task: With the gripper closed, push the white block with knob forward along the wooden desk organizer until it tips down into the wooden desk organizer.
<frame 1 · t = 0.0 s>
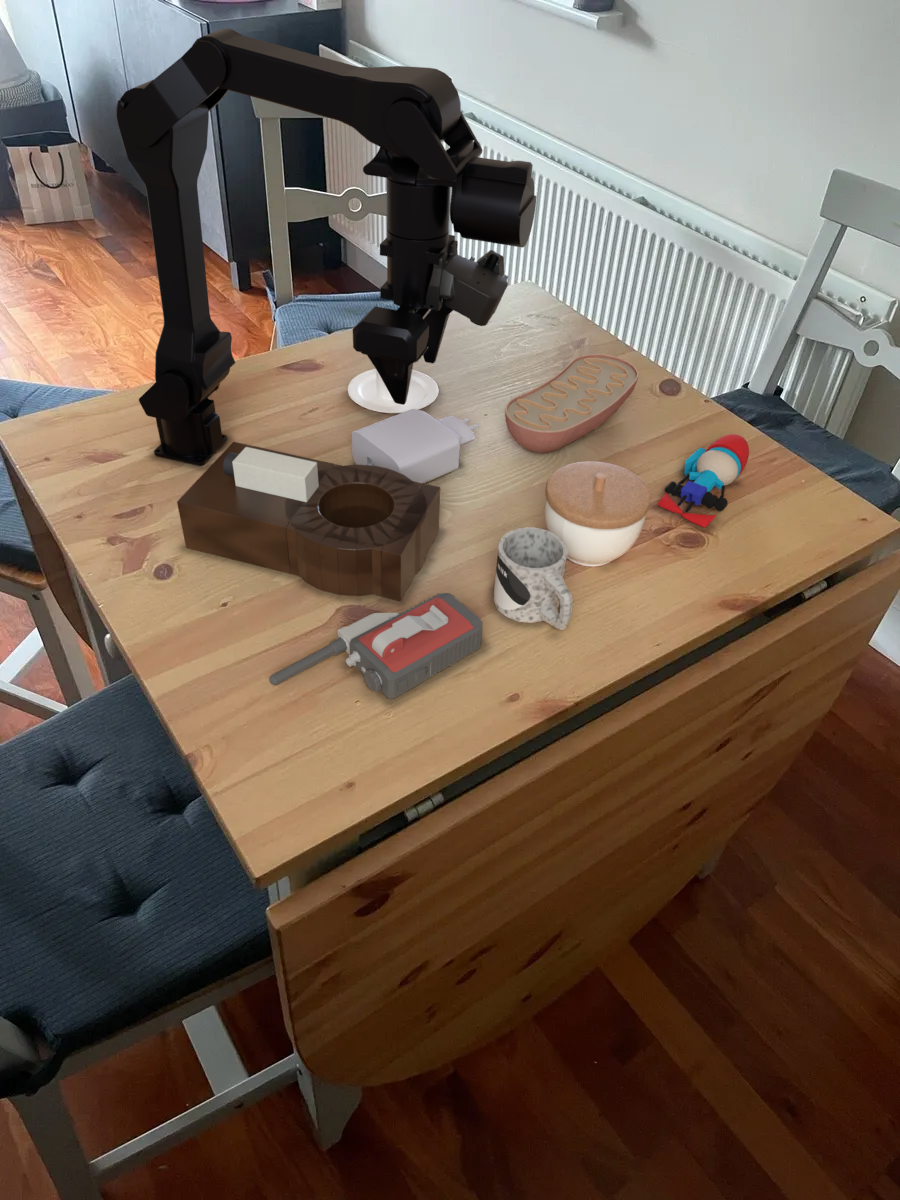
hand: (415, 382, 94), 15 cm above the table, tool pointing down, fingers open, 9 cm apart
wooden desk organizer: (314, 539, 98), on the table
trinket box: (587, 550, 99), on the table
toy figure: (706, 490, 108), on the table
mug: (535, 611, 91), on the table
candle holder: (393, 395, 121), on the table
walkie-talkie: (383, 665, 85), on the table
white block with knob: (228, 463, 95), point 7 cm above the table, touching wooden desk organizer
anatomical model: (571, 427, 117), on the table
charger: (425, 460, 110), on the table
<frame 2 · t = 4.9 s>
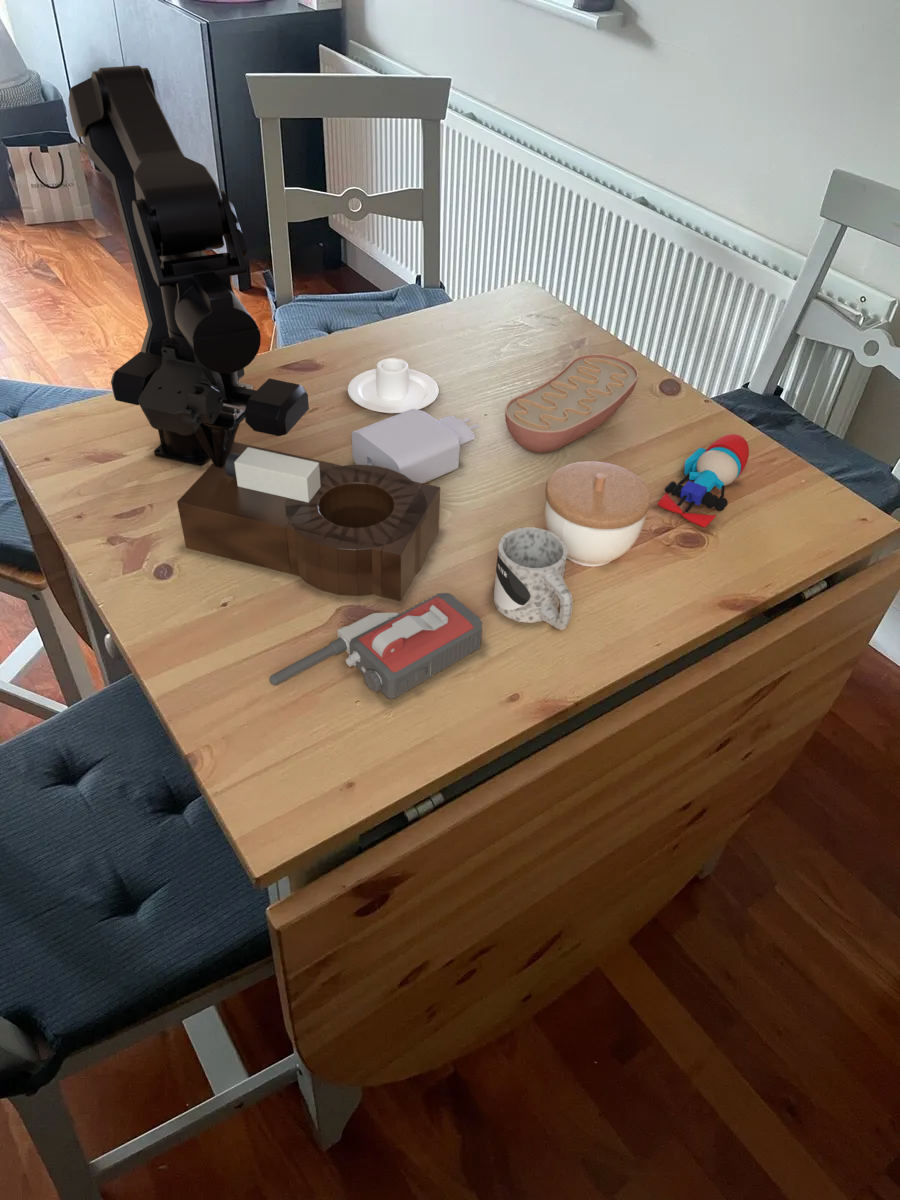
hand: (220, 465, 95), 7 cm above the table, tool pointing down, fingers closed
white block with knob: (230, 463, 95), point 7 cm above the table, touching gripper, wooden desk organizer
everything else where it was.
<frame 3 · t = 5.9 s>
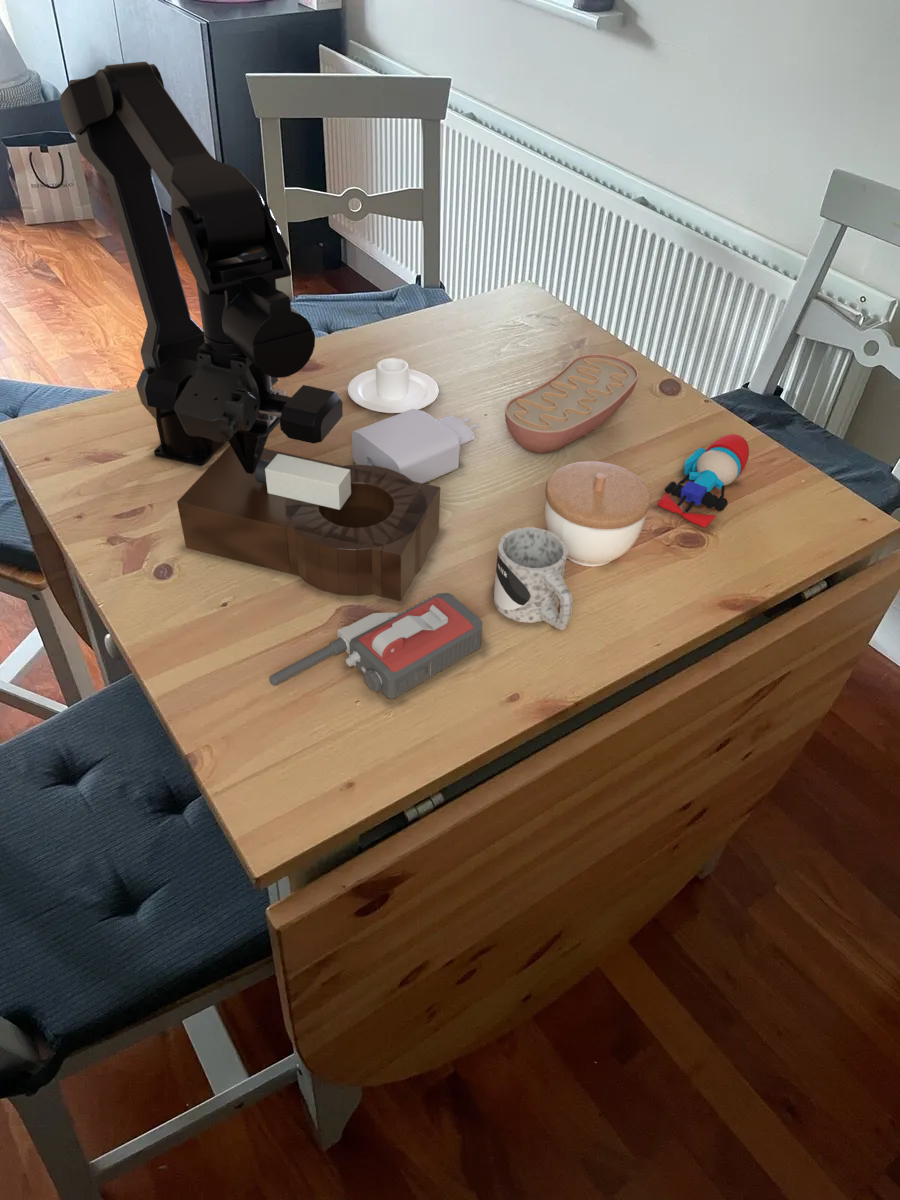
hand: (251, 471, 94), 7 cm above the table, tool pointing down, fingers closed
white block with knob: (260, 470, 94), point 7 cm above the table, touching gripper, wooden desk organizer
everything else where it was.
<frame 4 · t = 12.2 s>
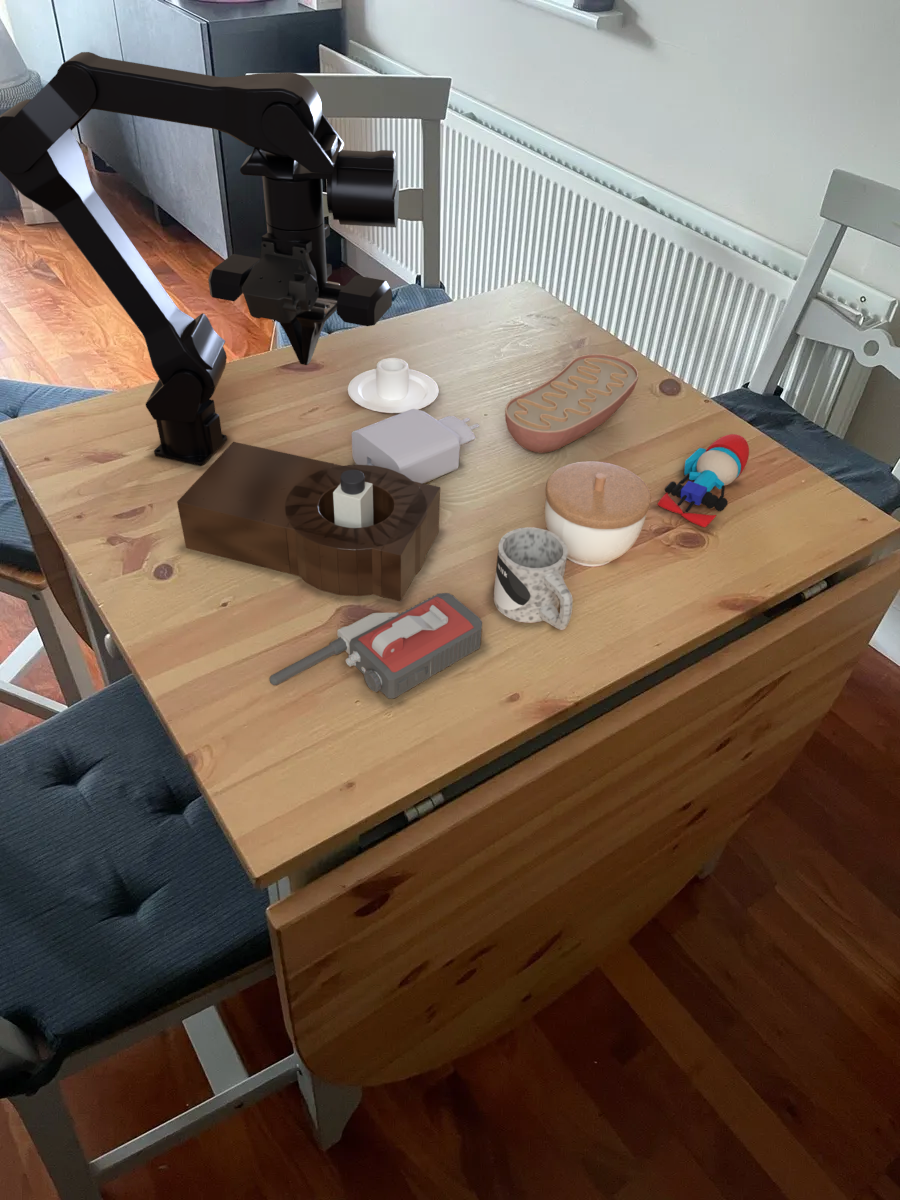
hand: (305, 363, 102), 12 cm above the table, tool pointing down, fingers closed
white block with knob: (352, 476, 90), point 9 cm above the table, tilted 90°
everything else where it was.
at the end: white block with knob inside the target area on the wooden desk organizer (1.2 cm from its centre), point 9.4 cm above the wooden desk organizer's base; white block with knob tilted 90° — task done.
